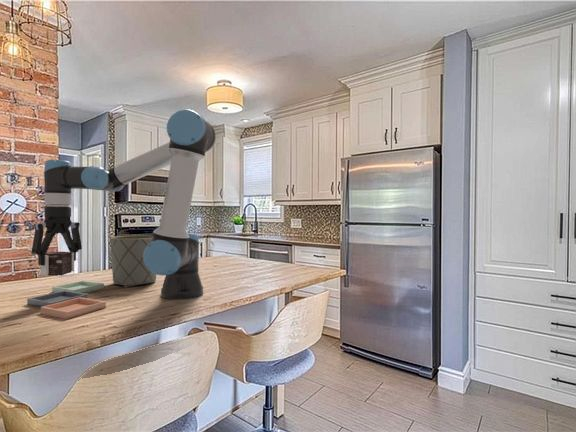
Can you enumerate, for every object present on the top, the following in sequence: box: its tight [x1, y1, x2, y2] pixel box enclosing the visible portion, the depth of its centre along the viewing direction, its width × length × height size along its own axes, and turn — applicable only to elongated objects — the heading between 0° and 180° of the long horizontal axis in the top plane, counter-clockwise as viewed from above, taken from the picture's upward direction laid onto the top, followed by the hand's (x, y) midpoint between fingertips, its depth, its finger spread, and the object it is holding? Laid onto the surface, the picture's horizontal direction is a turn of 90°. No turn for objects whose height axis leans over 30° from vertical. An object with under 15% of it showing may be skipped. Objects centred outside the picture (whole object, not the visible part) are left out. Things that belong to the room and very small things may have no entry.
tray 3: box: [40, 297, 107, 320], centre depth 105 cm, size 12×12×2 cm
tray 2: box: [51, 280, 105, 294], centre depth 131 cm, size 12×12×2 cm
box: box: [46, 251, 72, 277], centre depth 114 cm, size 6×6×7 cm
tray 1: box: [26, 291, 89, 308], centre depth 114 cm, size 12×12×2 cm
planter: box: [109, 234, 157, 288], centre depth 145 cm, size 19×19×20 cm
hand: (58, 272), depth 114 cm, fingers closed on box, 8 cm apart
